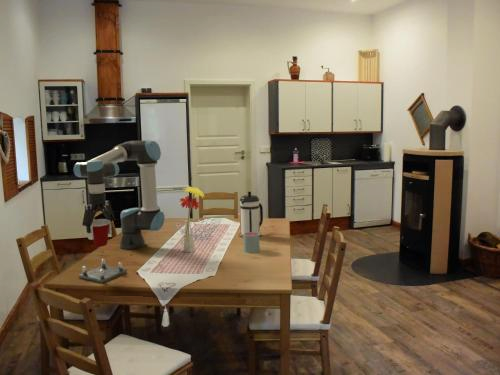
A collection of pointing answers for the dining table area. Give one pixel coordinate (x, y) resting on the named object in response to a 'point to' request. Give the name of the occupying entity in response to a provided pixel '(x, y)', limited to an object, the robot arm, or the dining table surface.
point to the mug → (251, 242)
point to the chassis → (102, 272)
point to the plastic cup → (100, 231)
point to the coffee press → (250, 214)
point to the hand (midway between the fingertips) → (100, 236)
